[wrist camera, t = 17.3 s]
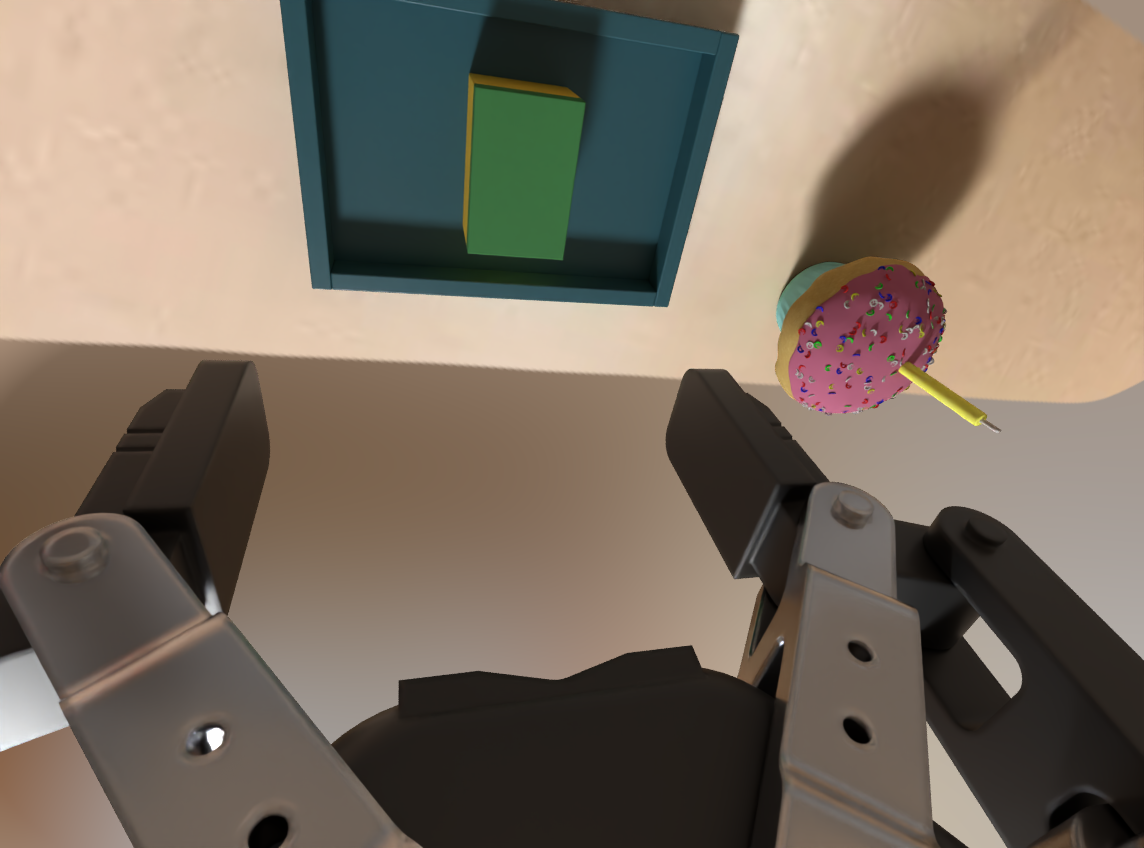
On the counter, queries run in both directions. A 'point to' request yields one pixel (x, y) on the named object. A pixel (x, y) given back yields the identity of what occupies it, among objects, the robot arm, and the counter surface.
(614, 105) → the tray
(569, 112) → the sponge
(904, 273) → the cupcake
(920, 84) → the counter surface
